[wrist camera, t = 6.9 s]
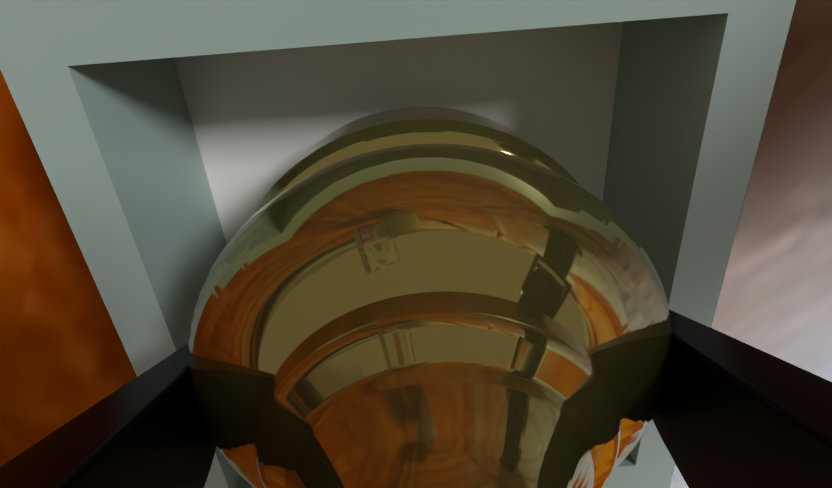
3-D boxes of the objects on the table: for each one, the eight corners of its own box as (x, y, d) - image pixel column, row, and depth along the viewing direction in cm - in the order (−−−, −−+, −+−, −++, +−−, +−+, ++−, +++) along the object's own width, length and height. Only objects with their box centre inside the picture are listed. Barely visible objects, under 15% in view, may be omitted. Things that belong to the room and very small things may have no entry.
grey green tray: (750, -94, 10) (989, -175, 6) (651, 386, 16) (736, 507, 12) (29, -36, 10) (-224, -80, 6) (204, 422, 16) (139, 556, 12)
